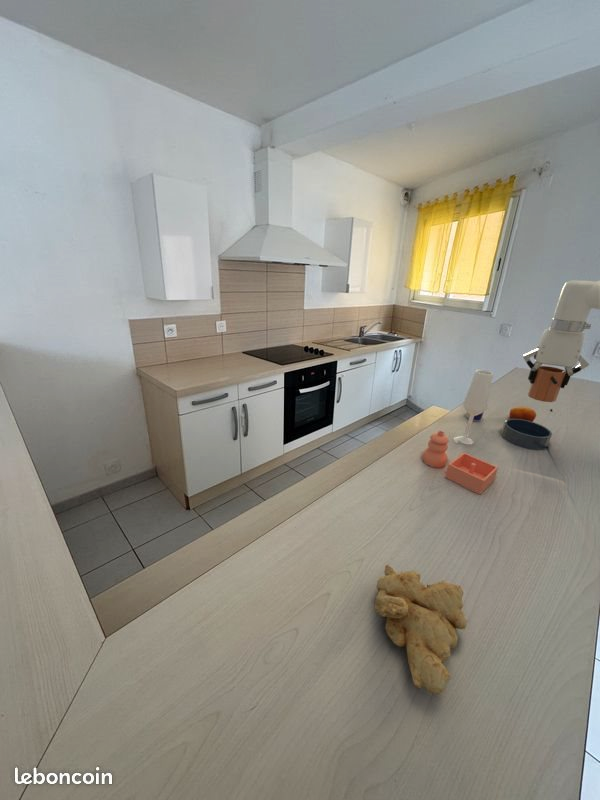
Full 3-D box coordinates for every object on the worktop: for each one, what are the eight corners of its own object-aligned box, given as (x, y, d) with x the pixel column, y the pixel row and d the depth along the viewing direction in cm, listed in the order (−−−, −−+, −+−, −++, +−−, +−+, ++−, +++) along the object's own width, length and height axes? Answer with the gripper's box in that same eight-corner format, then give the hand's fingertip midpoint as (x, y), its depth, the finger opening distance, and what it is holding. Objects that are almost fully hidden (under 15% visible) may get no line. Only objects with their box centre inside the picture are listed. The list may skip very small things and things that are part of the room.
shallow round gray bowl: (542, 437, 111) (547, 424, 109) (550, 455, 100) (556, 441, 98) (498, 428, 116) (502, 415, 114) (502, 444, 105) (507, 431, 103)
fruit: (514, 425, 115) (516, 403, 116) (504, 427, 123) (506, 406, 124) (539, 428, 114) (541, 406, 115) (528, 430, 121) (529, 409, 122)
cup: (552, 396, 103) (562, 368, 99) (561, 409, 92) (573, 379, 89) (526, 391, 105) (535, 364, 102) (532, 404, 95) (543, 374, 92)
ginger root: (400, 556, 61) (416, 532, 56) (476, 641, 51) (502, 620, 46) (339, 603, 52) (351, 580, 48) (415, 716, 43) (440, 700, 38)
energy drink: (462, 419, 121) (471, 389, 117) (468, 415, 125) (476, 386, 120) (477, 424, 118) (486, 394, 113) (482, 420, 121) (491, 391, 117)
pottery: (493, 480, 87) (504, 449, 83) (479, 494, 81) (490, 461, 77) (431, 451, 99) (438, 423, 95) (415, 462, 93) (421, 432, 89)
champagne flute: (464, 448, 102) (484, 376, 92) (448, 437, 108) (467, 369, 98) (480, 445, 104) (502, 375, 94) (464, 435, 110) (484, 368, 100)
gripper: (600, 327, 92) (577, 386, 99) (528, 321, 99) (511, 376, 106) (610, 332, 86) (584, 393, 93) (533, 325, 92) (514, 383, 99)
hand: (546, 384), depth 99 cm, fingers closed on cup, 7 cm apart
